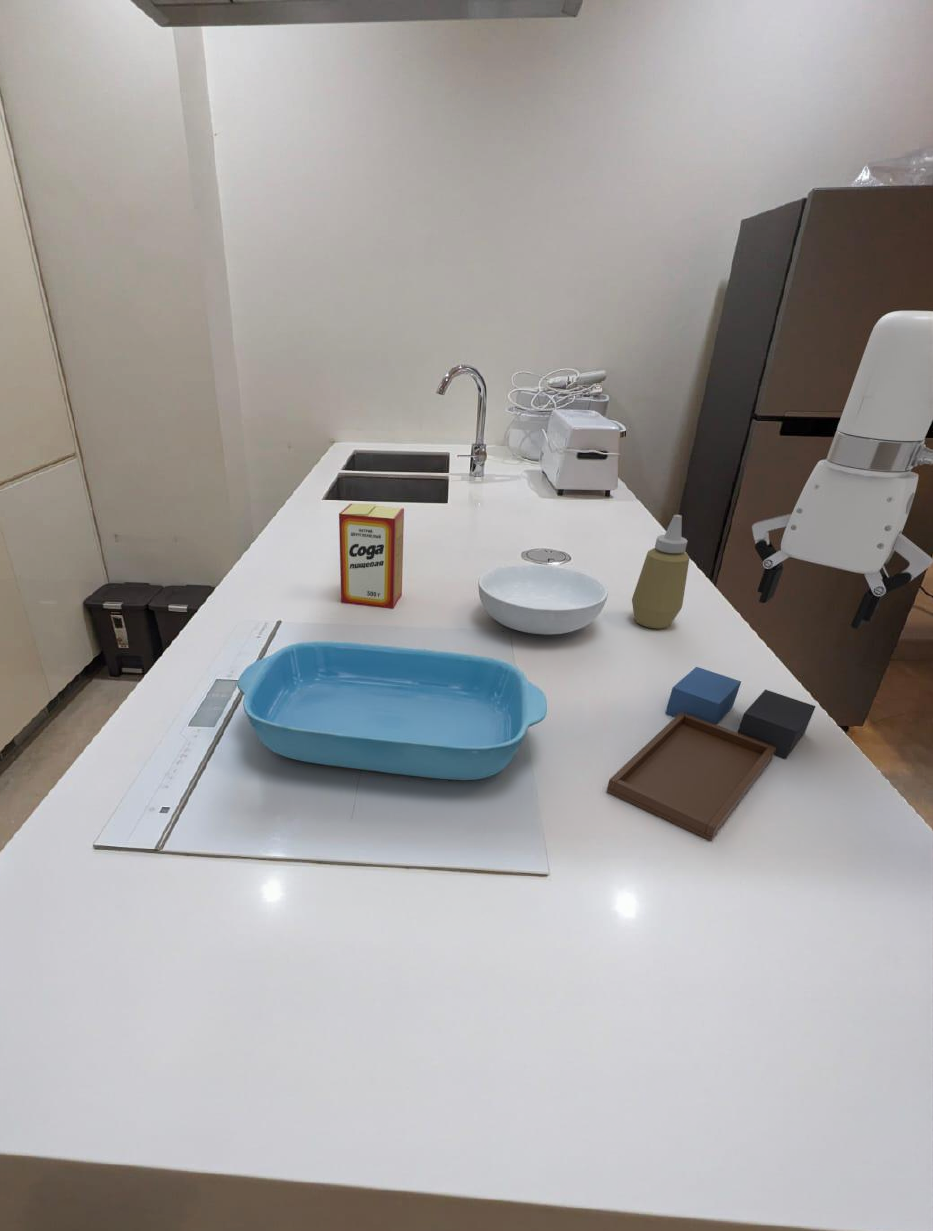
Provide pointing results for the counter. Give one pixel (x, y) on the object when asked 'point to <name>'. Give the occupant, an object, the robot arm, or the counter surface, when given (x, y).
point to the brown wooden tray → (692, 774)
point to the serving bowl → (541, 597)
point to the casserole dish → (391, 708)
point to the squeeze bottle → (662, 579)
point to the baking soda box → (371, 554)
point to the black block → (776, 721)
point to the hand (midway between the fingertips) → (809, 612)
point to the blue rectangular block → (703, 695)
